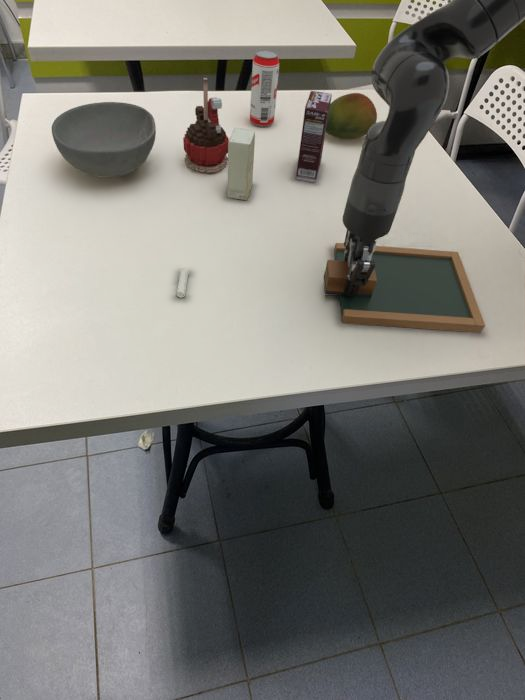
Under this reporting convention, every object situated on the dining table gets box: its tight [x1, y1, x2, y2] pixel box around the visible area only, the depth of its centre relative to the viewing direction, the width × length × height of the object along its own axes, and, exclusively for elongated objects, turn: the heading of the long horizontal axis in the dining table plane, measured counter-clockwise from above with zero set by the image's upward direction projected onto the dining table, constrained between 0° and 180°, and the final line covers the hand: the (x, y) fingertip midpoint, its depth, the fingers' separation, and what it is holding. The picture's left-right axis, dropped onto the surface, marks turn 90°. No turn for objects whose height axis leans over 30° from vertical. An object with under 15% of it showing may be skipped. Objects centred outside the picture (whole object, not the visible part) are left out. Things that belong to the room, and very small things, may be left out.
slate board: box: [333, 242, 486, 333], centre depth 88 cm, size 24×19×2 cm
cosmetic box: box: [226, 127, 256, 201], centre depth 100 cm, size 6×4×12 cm
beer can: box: [249, 48, 280, 128], centre depth 119 cm, size 6×6×16 cm
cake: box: [182, 77, 230, 173], centre depth 104 cm, size 11×9×18 cm
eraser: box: [323, 259, 377, 298], centre depth 84 cm, size 8×4×4 cm, turn 89°
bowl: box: [51, 101, 157, 178], centre depth 103 cm, size 20×20×10 cm
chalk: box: [176, 267, 189, 299], centre depth 84 cm, size 1×6×1 cm
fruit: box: [326, 92, 378, 140], centre depth 120 cm, size 12×12×10 cm
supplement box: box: [295, 90, 333, 183], centre depth 106 cm, size 9×5×16 cm, turn 168°
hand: (348, 284), depth 85 cm, fingers closed on eraser, 4 cm apart
